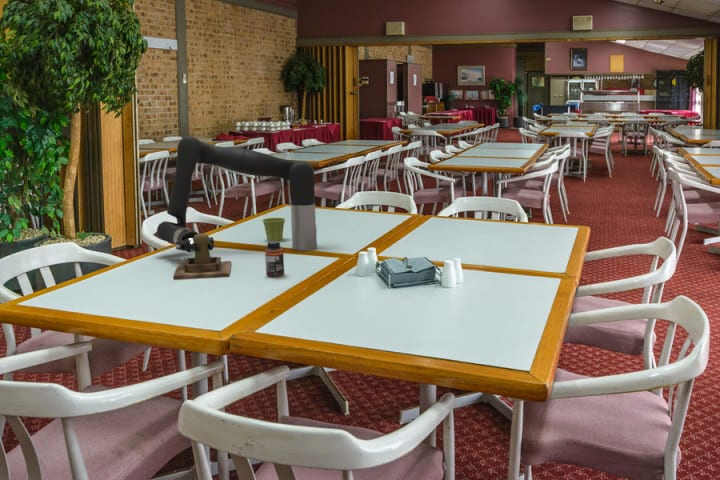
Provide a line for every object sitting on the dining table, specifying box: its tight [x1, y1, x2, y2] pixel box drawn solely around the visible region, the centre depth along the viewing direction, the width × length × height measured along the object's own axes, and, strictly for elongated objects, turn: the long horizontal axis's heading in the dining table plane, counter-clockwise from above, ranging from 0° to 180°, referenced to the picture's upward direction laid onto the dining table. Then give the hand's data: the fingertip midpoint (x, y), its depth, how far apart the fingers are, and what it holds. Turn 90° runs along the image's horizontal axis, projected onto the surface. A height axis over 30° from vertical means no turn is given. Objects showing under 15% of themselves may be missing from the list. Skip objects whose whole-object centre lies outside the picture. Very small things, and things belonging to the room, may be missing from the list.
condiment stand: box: [172, 256, 232, 280], centre depth 254 cm, size 18×18×4 cm
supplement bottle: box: [264, 241, 285, 278], centre depth 247 cm, size 6×6×11 cm
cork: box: [194, 233, 212, 264], centre depth 253 cm, size 6×6×11 cm
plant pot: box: [261, 217, 286, 242], centre depth 304 cm, size 9×9×9 cm
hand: (204, 248), depth 251 cm, fingers closed on cork, 4 cm apart
